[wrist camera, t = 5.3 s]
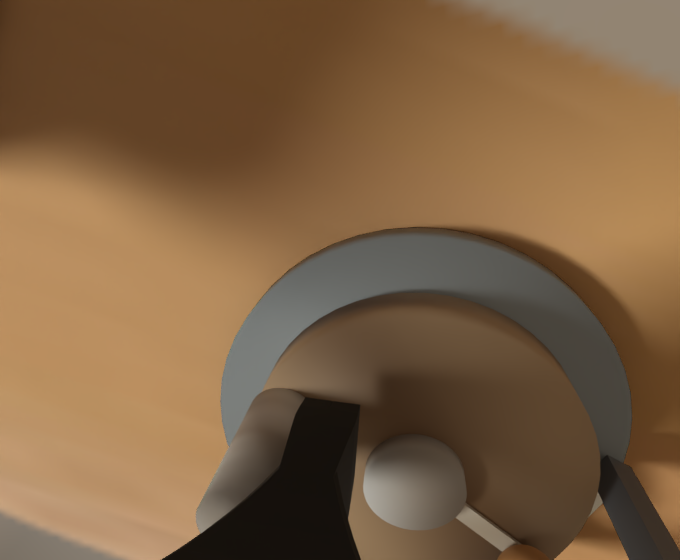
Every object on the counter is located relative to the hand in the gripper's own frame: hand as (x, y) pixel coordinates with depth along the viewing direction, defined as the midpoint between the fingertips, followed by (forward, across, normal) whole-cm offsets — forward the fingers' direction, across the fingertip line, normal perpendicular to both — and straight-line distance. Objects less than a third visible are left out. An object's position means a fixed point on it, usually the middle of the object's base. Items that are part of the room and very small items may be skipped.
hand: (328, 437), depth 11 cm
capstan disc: (+3, -2, +2) cm, 4 cm away
